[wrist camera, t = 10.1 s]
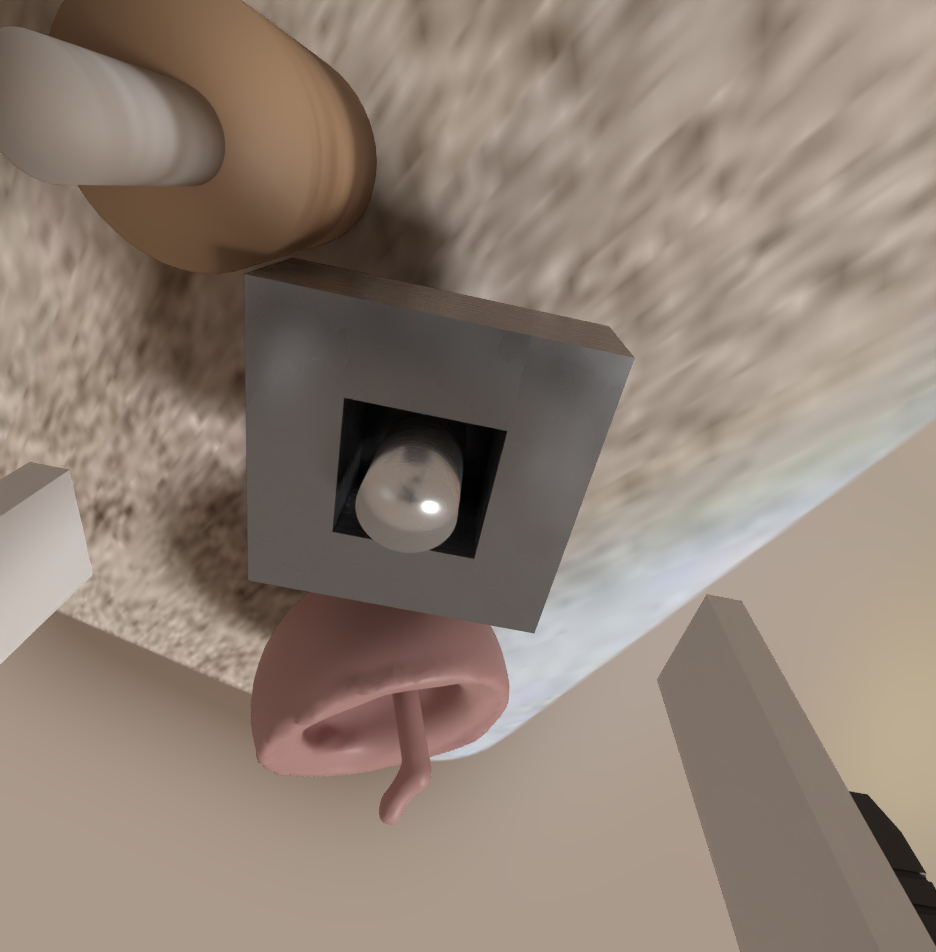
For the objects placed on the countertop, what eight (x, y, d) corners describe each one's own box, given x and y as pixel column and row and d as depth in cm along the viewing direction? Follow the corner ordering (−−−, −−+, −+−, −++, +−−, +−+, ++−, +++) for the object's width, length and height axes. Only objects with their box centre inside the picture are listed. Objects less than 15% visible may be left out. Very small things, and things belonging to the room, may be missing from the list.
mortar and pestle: (410, 699, 35) (374, 907, 25) (262, 597, 31) (148, 793, 21) (548, 609, 30) (573, 818, 20) (395, 477, 26) (332, 653, 16)
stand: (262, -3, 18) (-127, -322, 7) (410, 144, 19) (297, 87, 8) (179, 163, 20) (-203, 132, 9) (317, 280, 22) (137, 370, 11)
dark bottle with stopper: (432, 265, 21) (379, 327, 12) (552, 376, 23) (590, 506, 14) (337, 385, 24) (231, 516, 14) (451, 475, 26) (425, 642, 16)
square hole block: (292, 257, 16) (244, 274, 13) (608, 326, 16) (634, 357, 13) (284, 522, 21) (248, 580, 18) (528, 569, 21) (534, 633, 18)
